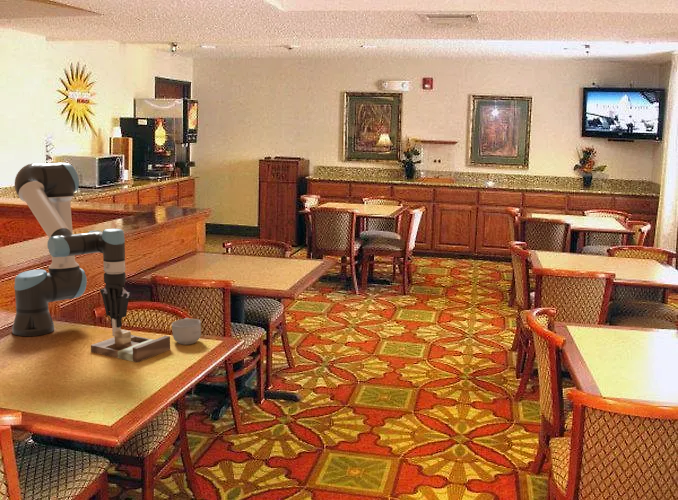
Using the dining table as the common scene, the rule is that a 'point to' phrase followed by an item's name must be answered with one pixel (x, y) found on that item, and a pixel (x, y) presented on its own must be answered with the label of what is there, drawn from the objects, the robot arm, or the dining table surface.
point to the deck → (132, 348)
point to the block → (122, 336)
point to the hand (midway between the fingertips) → (116, 335)
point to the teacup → (186, 331)
